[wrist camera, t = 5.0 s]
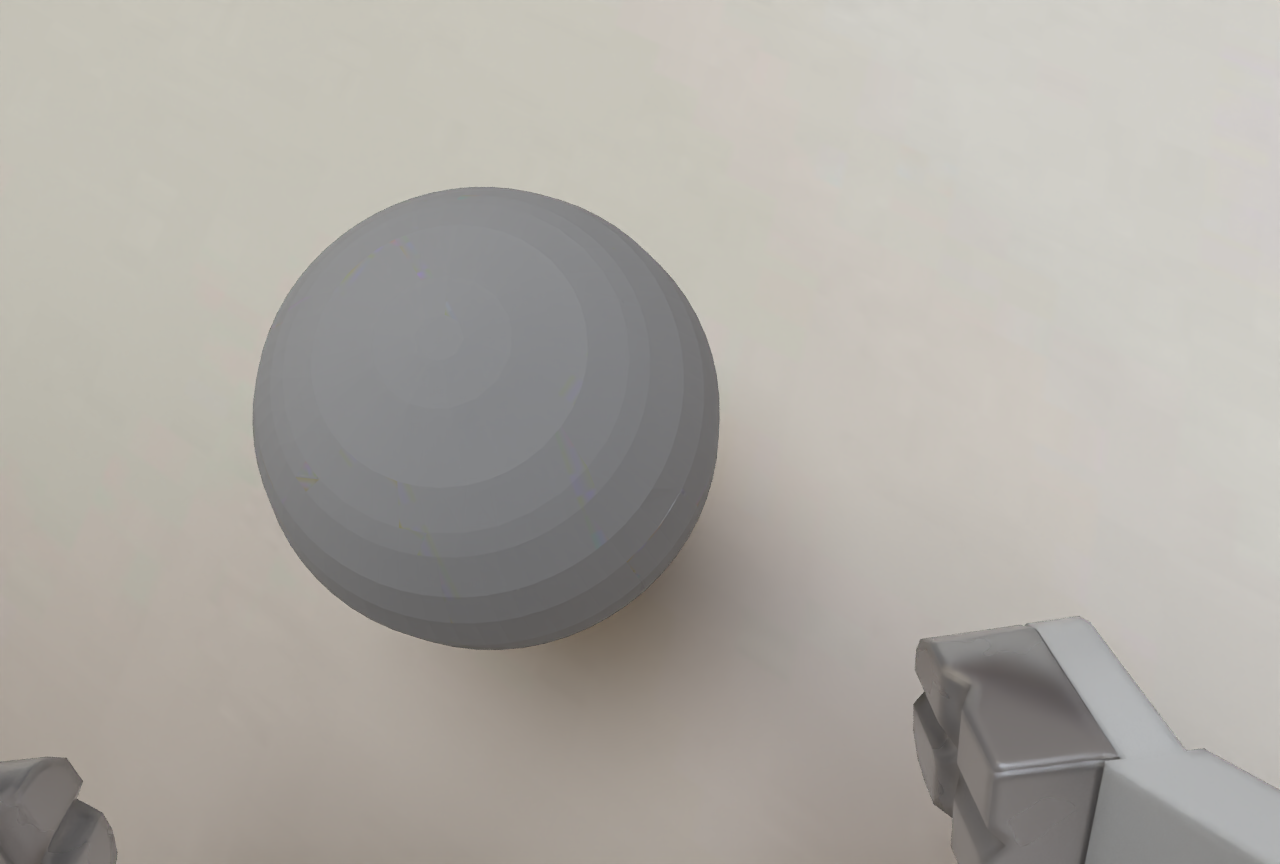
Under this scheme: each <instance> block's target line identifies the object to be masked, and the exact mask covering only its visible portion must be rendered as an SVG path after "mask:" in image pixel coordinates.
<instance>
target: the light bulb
mask: <svg viewBox="0 0 1280 864" xmlns="http://www.w3.org/2000/svg"><path fill="white" fill-rule="evenodd" d="M719 420H720V419H719V391H718V382H717V375H716V370H715V366H714V361H713V357H712V353H711V350H710V347H709V344H708V341H707V338H706V335H705V333H704V331H703V328H702V326H701V324H700V322H699V319H698V317H697V315H696V313H695V312H694V310H693V308H692V307H691V305H690V303H689V301H688V300H687V298H686V296H685V295H684V294H683V292H682V291H681V290H680V288H679V287H678V285H677V284H676V283H675V281H674V280H673V279H672V278H671V277H670V276H669V275H668V273H667V272H666V271H665V270H664V269H663V268H662V267H661V266H660V265H659V264H658V263H657V262H656V261H655V260H654V259H653V258H652V257H651V256H650V255H649V254H648V253H647V252H646V251H645V250H644V249H643V248H641V247H640V246H639V245H638V244H637V243H636V242H635V241H634V240H633V239H632V238H630V237H629V236H628V235H626V234H625V233H624V232H622V231H621V230H620V229H618V228H617V227H616V226H614V225H612V224H611V223H609V222H607V221H606V220H604V219H602V218H601V217H599V216H597V215H595V214H593V213H591V212H589V211H587V210H585V209H583V208H581V207H578V206H576V205H573V204H570V203H567V202H565V201H562V200H559V199H555V198H551V197H548V196H544V195H540V194H536V193H532V192H527V191H521V190H515V189H509V188H496V187H468V188H458V189H449V190H444V191H439V192H433V193H429V194H426V195H422V196H418V197H415V198H411V199H409V200H406V201H403V202H401V203H398V204H395V205H393V206H391V207H389V208H386V209H384V210H382V211H380V212H378V213H376V214H374V215H372V216H371V217H369V218H367V219H365V220H364V221H362V222H360V223H359V224H357V225H356V226H354V227H353V228H351V229H350V230H349V231H347V232H346V233H344V234H343V235H341V236H340V237H339V238H338V239H337V240H336V241H334V242H333V243H332V244H331V245H330V246H328V247H327V248H326V249H325V250H324V251H323V252H322V253H321V254H320V255H319V256H318V257H317V258H316V259H315V260H314V261H313V262H312V263H311V264H310V266H309V267H308V268H307V269H306V270H305V272H304V273H303V274H302V275H301V276H300V278H299V279H298V280H297V282H296V283H295V285H294V286H293V287H292V289H291V290H290V292H289V293H288V295H287V296H286V298H285V300H284V302H283V304H282V305H281V307H280V309H279V311H278V312H277V315H276V317H275V319H274V321H273V324H272V326H271V328H270V330H269V333H268V336H267V339H266V342H265V345H264V348H263V351H262V355H261V360H260V364H259V368H258V374H257V379H256V385H255V393H254V401H253V436H254V447H255V452H256V458H257V464H258V468H259V471H260V475H261V478H262V482H263V485H264V488H265V490H266V493H267V496H268V498H269V501H270V503H271V506H272V508H273V510H274V513H275V515H276V518H277V520H278V523H279V525H280V527H281V529H282V530H283V532H284V534H285V536H286V538H287V540H288V542H289V543H290V545H291V546H292V548H293V549H294V551H295V552H296V554H297V555H298V557H299V558H300V559H301V561H302V562H303V563H304V565H305V566H306V567H307V568H308V569H309V570H310V572H311V573H312V574H313V575H314V576H315V577H316V578H317V580H318V581H320V582H321V583H322V584H323V585H324V586H325V587H326V588H327V589H328V590H329V591H330V592H331V593H332V594H334V595H335V596H336V597H338V598H339V599H340V600H342V601H343V602H344V603H346V604H347V605H348V606H350V607H351V608H352V609H354V610H356V611H357V612H359V613H361V614H363V615H364V616H366V617H368V618H369V619H371V620H373V621H375V622H377V623H380V624H382V625H384V626H386V627H388V628H391V629H393V630H396V631H399V632H402V633H405V634H408V635H411V636H414V637H417V638H420V639H424V640H427V641H431V642H434V643H439V644H443V645H448V646H452V647H459V648H468V649H476V650H503V649H514V648H524V647H529V646H534V645H539V644H545V643H548V642H551V641H555V640H558V639H561V638H565V637H568V636H570V635H573V634H575V633H578V632H580V631H582V630H585V629H587V628H589V627H591V626H593V625H595V624H597V623H599V622H601V621H603V620H604V619H606V618H608V617H610V616H611V615H613V614H614V613H616V612H617V611H619V610H620V609H622V608H623V607H625V606H626V605H628V604H629V603H630V602H631V601H633V600H634V599H635V598H636V597H638V596H639V595H640V594H641V593H642V592H644V591H645V590H646V589H647V588H648V587H649V586H650V585H651V584H652V583H653V582H654V581H655V580H656V579H657V578H658V577H659V576H660V575H661V574H662V573H663V571H664V570H665V569H666V568H667V567H668V565H669V564H670V563H671V562H672V561H673V559H674V558H675V557H676V555H677V554H678V552H679V551H680V549H681V548H682V546H683V545H684V544H685V542H686V541H687V539H688V537H689V535H690V534H691V532H692V530H693V528H694V526H695V524H696V522H697V520H698V518H699V516H700V514H701V511H702V509H703V506H704V504H705V501H706V499H707V496H708V492H709V489H710V486H711V482H712V479H713V474H714V469H715V464H716V459H717V448H718V437H719Z"/></svg>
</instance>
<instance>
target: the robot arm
mask: <svg viewBox="0 0 1280 864" xmlns="http://www.w3.org/2000/svg"><path fill="white" fill-rule="evenodd" d="M915 671H916V674H917V676H918V678H919V680H920V683H921V685H922V687H923V689H924V693H923V694H922V695H921V696H920V697H919V698H918V699H917V701H916V702H915V703H914V704H913V731H914V738H915V744H916V751H917V757H918V761H919V764H920V768H921V771H922V775H923V778H924V781H925V784H926V786H927V789H928V791H929V794H930V796H931V799H932V801H933V804H934V805H936V806H937V807H938V808H940V809H941V810H942V811H944V812H945V813H946V814H948V815H949V816H951V817H952V818H953V820H952V835H951V848H952V850H953V853H954V855H955V858H956V860H957V862H958V864H1280V790H1279V789H1277V788H1275V787H1273V786H1271V785H1270V784H1268V783H1266V782H1264V781H1262V780H1261V779H1259V778H1257V777H1255V776H1253V775H1251V774H1250V773H1248V772H1246V771H1244V770H1242V769H1240V768H1239V767H1237V766H1235V765H1233V764H1231V763H1230V762H1228V761H1226V760H1224V759H1222V758H1220V757H1219V756H1217V755H1215V754H1213V753H1211V752H1209V751H1208V750H1206V749H1195V750H1186V749H1185V748H1184V746H1183V745H1182V744H1181V742H1180V741H1179V740H1178V738H1177V737H1176V736H1175V734H1174V733H1173V732H1172V730H1171V729H1170V728H1169V726H1168V725H1167V724H1166V722H1165V721H1164V720H1163V718H1162V717H1161V716H1160V714H1159V713H1158V712H1157V710H1156V709H1155V708H1154V706H1153V705H1152V704H1151V702H1150V701H1149V700H1148V698H1147V697H1146V696H1145V694H1144V693H1143V692H1142V690H1141V689H1140V688H1139V686H1138V685H1137V684H1136V682H1135V681H1134V680H1133V678H1132V677H1131V676H1130V674H1129V673H1128V672H1127V670H1126V669H1125V668H1124V666H1123V665H1122V664H1121V662H1120V661H1119V660H1118V658H1117V657H1116V656H1115V654H1114V653H1113V652H1112V650H1111V649H1110V648H1109V646H1108V645H1107V644H1106V642H1105V641H1104V640H1103V638H1102V637H1101V636H1100V634H1099V633H1098V632H1097V630H1096V629H1095V628H1094V627H1093V625H1092V624H1091V623H1090V622H1089V621H1087V620H1085V619H1084V618H1082V617H1080V616H1076V617H1069V618H1062V619H1055V620H1048V621H1041V622H1034V623H1028V624H1026V625H1024V626H1023V625H1015V626H1008V627H1001V628H994V629H987V630H980V631H973V632H966V633H959V634H952V635H945V636H938V637H931V638H924V639H920V641H919V644H918V646H917V649H916V660H915ZM82 783H83V780H82V779H81V778H80V776H79V775H78V773H77V772H76V771H75V769H74V768H73V766H72V765H71V763H70V762H69V761H68V759H67V758H61V757H40V758H31V759H21V760H12V761H3V762H0V864H116V860H117V848H116V843H115V839H114V834H113V830H112V828H111V826H110V825H109V823H108V821H107V820H106V818H105V816H104V814H103V813H102V812H100V811H98V810H97V809H95V808H93V807H91V806H89V805H87V804H85V803H84V802H82V801H80V800H78V799H77V797H78V794H79V791H80V789H81V786H82Z"/></svg>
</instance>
